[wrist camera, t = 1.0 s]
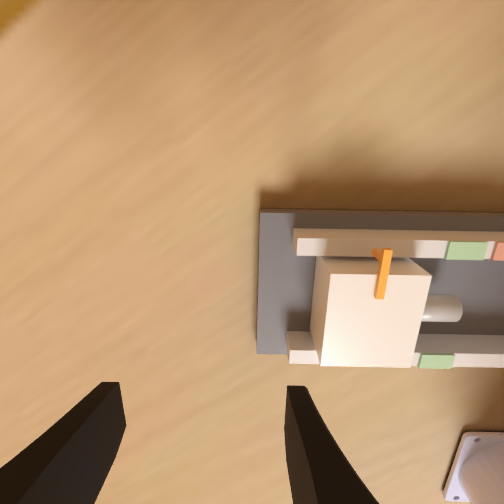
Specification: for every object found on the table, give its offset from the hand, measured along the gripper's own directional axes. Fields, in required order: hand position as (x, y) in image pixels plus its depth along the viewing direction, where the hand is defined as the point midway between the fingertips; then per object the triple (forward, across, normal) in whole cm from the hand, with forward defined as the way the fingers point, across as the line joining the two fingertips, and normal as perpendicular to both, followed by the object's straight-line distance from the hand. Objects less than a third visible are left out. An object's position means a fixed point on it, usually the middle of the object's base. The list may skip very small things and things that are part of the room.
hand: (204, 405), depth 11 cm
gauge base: (+10, -13, 0) cm, 17 cm away
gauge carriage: (+9, -9, -1) cm, 13 cm away
